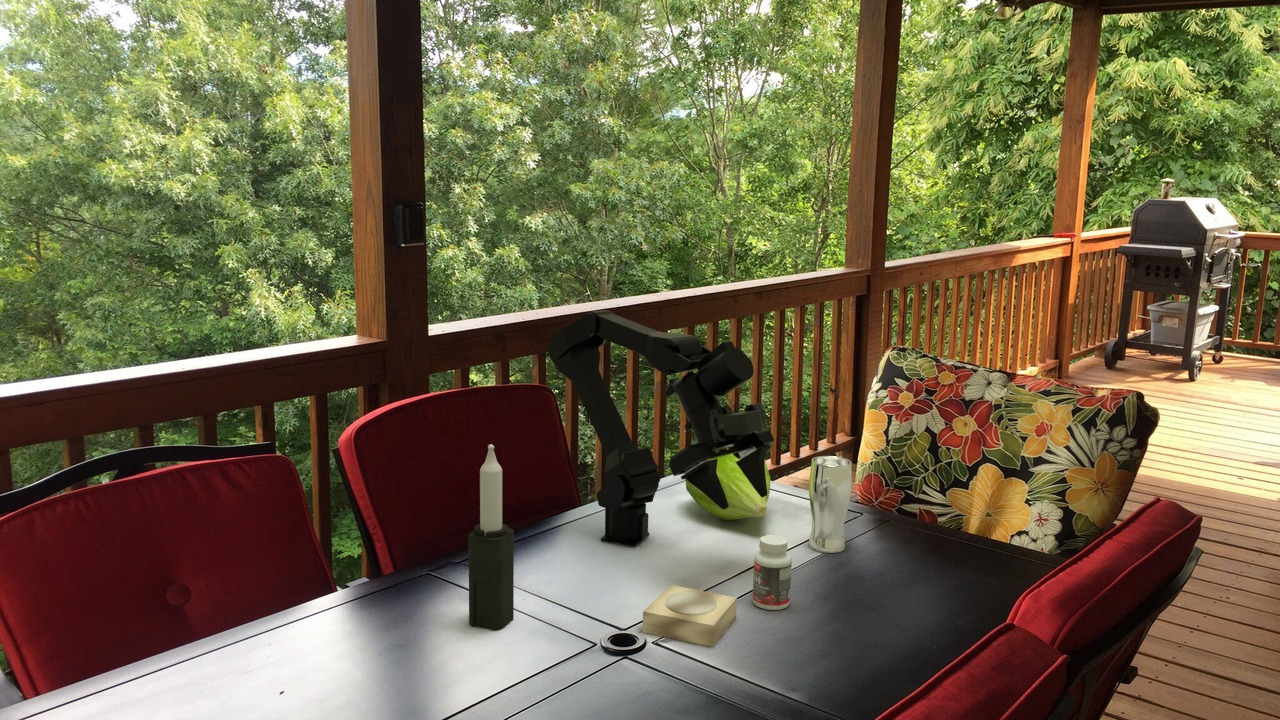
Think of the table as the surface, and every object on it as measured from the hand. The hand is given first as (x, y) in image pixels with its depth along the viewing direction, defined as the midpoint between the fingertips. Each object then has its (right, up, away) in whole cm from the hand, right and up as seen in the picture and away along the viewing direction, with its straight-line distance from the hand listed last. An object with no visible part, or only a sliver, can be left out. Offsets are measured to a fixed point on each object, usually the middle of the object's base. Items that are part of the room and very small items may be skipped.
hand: (745, 502), depth 150 cm
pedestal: (-9, -15, -13) cm, 22 cm away
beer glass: (+16, -10, +18) cm, 26 cm away
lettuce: (+1, -8, +32) cm, 33 cm away
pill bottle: (+3, -14, -5) cm, 15 cm away
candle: (-36, -15, -13) cm, 41 cm away
